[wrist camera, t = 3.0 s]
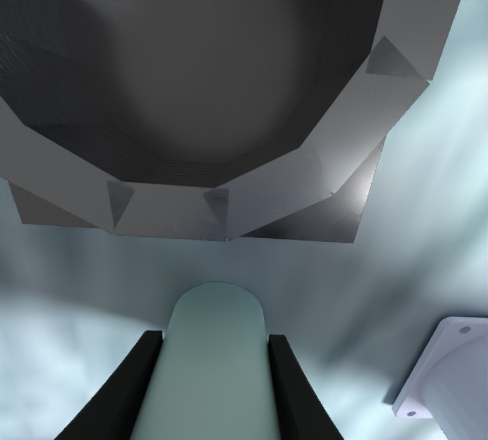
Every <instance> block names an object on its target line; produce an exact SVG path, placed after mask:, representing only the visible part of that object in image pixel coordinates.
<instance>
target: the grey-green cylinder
mask: <svg viewBox="0 0 488 440" xmlns="http://www.w3.org/2000/svg"><path fill="white" fill-rule="evenodd" d="M130 440H281V436H280V429H279V422H278V415H277V408H276V401H275V393H274V386H273V379H272V372H271V365H270V358H269V351H268V343H267V336H266V329H265V322H264V315H263V310H262V307H261V304H260V302H259V301H258V300H257V298H256V297H255V296H254V295H253V294H252V293H250V292H249V291H247V290H246V289H244V288H242V287H240V286H237V285H234V284H230V283H224V282H212V283H205V284H201V285H198V286H196V287H194V288H192V289H190V290H188V291H187V292H185V293H184V294H183V295H182V296H181V297H180V298H179V300H178V301H177V303H176V305H175V307H174V310H173V313H172V316H171V319H170V322H169V325H168V328H167V331H166V334H165V337H164V340H163V343H162V346H161V349H160V352H159V354H158V357H157V360H156V363H155V366H154V369H153V372H152V375H151V378H150V381H149V384H148V387H147V390H146V393H145V396H144V399H143V402H142V405H141V408H140V411H139V414H138V416H137V419H136V422H135V425H134V428H133V431H132V434H131V437H130Z"/></svg>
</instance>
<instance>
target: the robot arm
mask: <svg viewBox="0 0 488 440" xmlns="http://www.w3.org/2000/svg"><path fill="white" fill-rule="evenodd" d="M162 343H163V337H162V331H154V330H147V331H145V332H144V333H143V335H142V336H141V338H140V339H139V340H138V342H137V343H136V344H135V346H134V347H133V348H132V350H131V351H130V352H129V354H128V355H127V356H126V357H125V359H124V360H123V361H122V363H121V364H120V365H119V366H118V368H117V369H116V370H115V371H114V372H113V374H112V375H111V376H110V377H109V378H108V380H107V381H106V382H105V383H104V385H103V386H102V387H101V388H100V389H99V390H98V392H97V393H96V394H95V395H94V396H93V397H92V398H91V400H90V401H89V402H88V403H87V404H86V405H85V406H84V408H83V409H82V410H81V411H80V412H79V413H78V414H77V415H76V417H75V418H74V419H73V420H72V421H71V422H70V423H69V424H68V425H67V426H66V427H65V428H64V430H63V431H62V432H61V433H60V434H59V435H58V436H57V437H56V438H55V439H54V440H130V437H131V434H132V431H133V428H134V425H135V422H136V419H137V416H138V414H139V411H140V408H141V405H142V402H143V399H144V396H145V393H146V390H147V387H148V384H149V381H150V378H151V375H152V372H153V369H154V366H155V363H156V360H157V357H158V354H159V352H160V349H161V346H162ZM268 351H269V358H270V365H271V372H272V379H273V386H274V393H275V401H276V408H277V415H278V422H279V429H280V436H281V440H344V438H343V437H342V435H341V434H340V432H339V431H338V429H337V428H336V426H335V425H334V423H333V422H332V420H331V418H330V417H329V415H328V414H327V412H326V410H325V409H324V407H323V406H322V404H321V402H320V401H319V399H318V397H317V396H316V394H315V392H314V390H313V389H312V387H311V385H310V383H309V382H308V380H307V378H306V376H305V374H304V373H303V371H302V369H301V367H300V365H299V363H298V361H297V359H296V357H295V355H294V353H293V351H292V349H291V347H290V345H289V343H288V341H287V338H286V337H285V336H284V335H273V334H270V335H269V340H268ZM392 410H393V412H394V414H395V416H396V417H398V418H434V419H435V421H436V422H437V424H438V425H439V427H440V428H441V430H442V431H443V433H444V434H445V436H446V437H447V439H448V440H488V318H475V317H447V318H445V319H443V320H442V321H441V322H440V323H439V325H438V327H437V329H436V330H435V332H434V334H433V336H432V337H431V339H430V341H429V343H428V344H427V346H426V348H425V350H424V351H423V353H422V355H421V357H420V358H419V360H418V362H417V364H416V365H415V367H414V369H413V371H412V372H411V374H410V376H409V378H408V379H407V381H406V383H405V385H404V386H403V388H402V390H401V392H400V393H399V395H398V397H397V399H396V400H395V402H394V404H393V406H392Z"/></svg>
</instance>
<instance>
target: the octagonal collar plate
mask: <svg viewBox="0 0 488 440" xmlns="http://www.w3.org/2000/svg"><path fill="white" fill-rule="evenodd" d="M459 3H460V0H0V177H2V178H4V179H6V180H8V182H9V185H10V188H11V191H12V194H13V197H14V200H15V203H16V206H17V209H18V212H19V215H20V218H21V221H22V224H37V225H54V226H71V227H88V228H101V229H103V230H105V231H107V232H109V233H111V234H113V233H114V232H115V235H122V236H139V237H156V238H174V239H191V240H208V241H226V237H227V239H228V241H230V240H232V239H235V238H237V237H256V238H273V239H290V240H307V241H324V242H341V243H353V242H354V239H355V235H356V232H357V229H358V226H359V222H360V219H361V216H362V213H363V209H364V206H365V203H366V200H367V196H368V193H369V190H370V187H371V184H372V180H373V177H374V174H375V171H376V167H377V164H378V161H379V158H380V154H381V151H382V148H383V145H384V141H385V138H386V135H387V133H388V132H389V131H390V130H391V129H392V127H393V126H394V125H395V124H396V123H397V122H398V120H399V119H400V118H401V117H402V116H403V115H404V114H405V112H406V111H407V110H408V109H409V108H410V107H411V105H412V104H413V103H414V102H415V101H416V100H417V99H418V97H419V96H420V95H421V94H422V93H423V92H424V91H425V89H426V88H427V87H428V86H429V85H430V84H429V83H428V82H427V81H431V80H433V77H434V74H435V71H436V68H437V66H438V63H439V60H440V57H441V54H442V51H443V48H444V46H445V43H446V40H447V37H448V34H449V31H450V29H451V26H452V23H453V20H454V17H455V14H456V12H457V9H458V6H459Z"/></svg>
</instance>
